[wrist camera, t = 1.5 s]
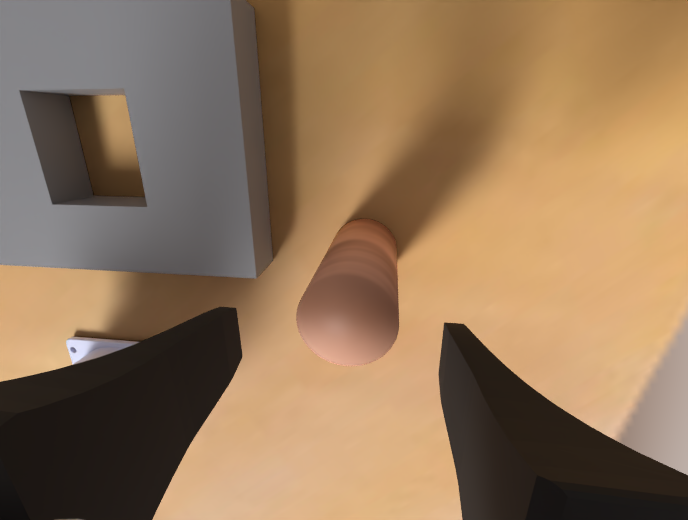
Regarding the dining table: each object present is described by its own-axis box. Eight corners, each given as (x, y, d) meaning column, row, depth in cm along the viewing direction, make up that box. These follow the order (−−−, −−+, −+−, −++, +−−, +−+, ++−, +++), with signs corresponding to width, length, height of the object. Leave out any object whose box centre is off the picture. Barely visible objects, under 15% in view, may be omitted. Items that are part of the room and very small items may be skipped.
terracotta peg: (395, 280, 22) (396, 370, 14) (333, 277, 23) (298, 361, 14) (398, 219, 21) (401, 278, 13) (332, 217, 21) (294, 272, 13)
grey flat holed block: (273, 260, 23) (256, 278, 20) (32, 249, 25) (-13, 264, 22) (254, 7, 18) (228, -15, 15) (-42, 21, 20) (-111, 4, 18)
